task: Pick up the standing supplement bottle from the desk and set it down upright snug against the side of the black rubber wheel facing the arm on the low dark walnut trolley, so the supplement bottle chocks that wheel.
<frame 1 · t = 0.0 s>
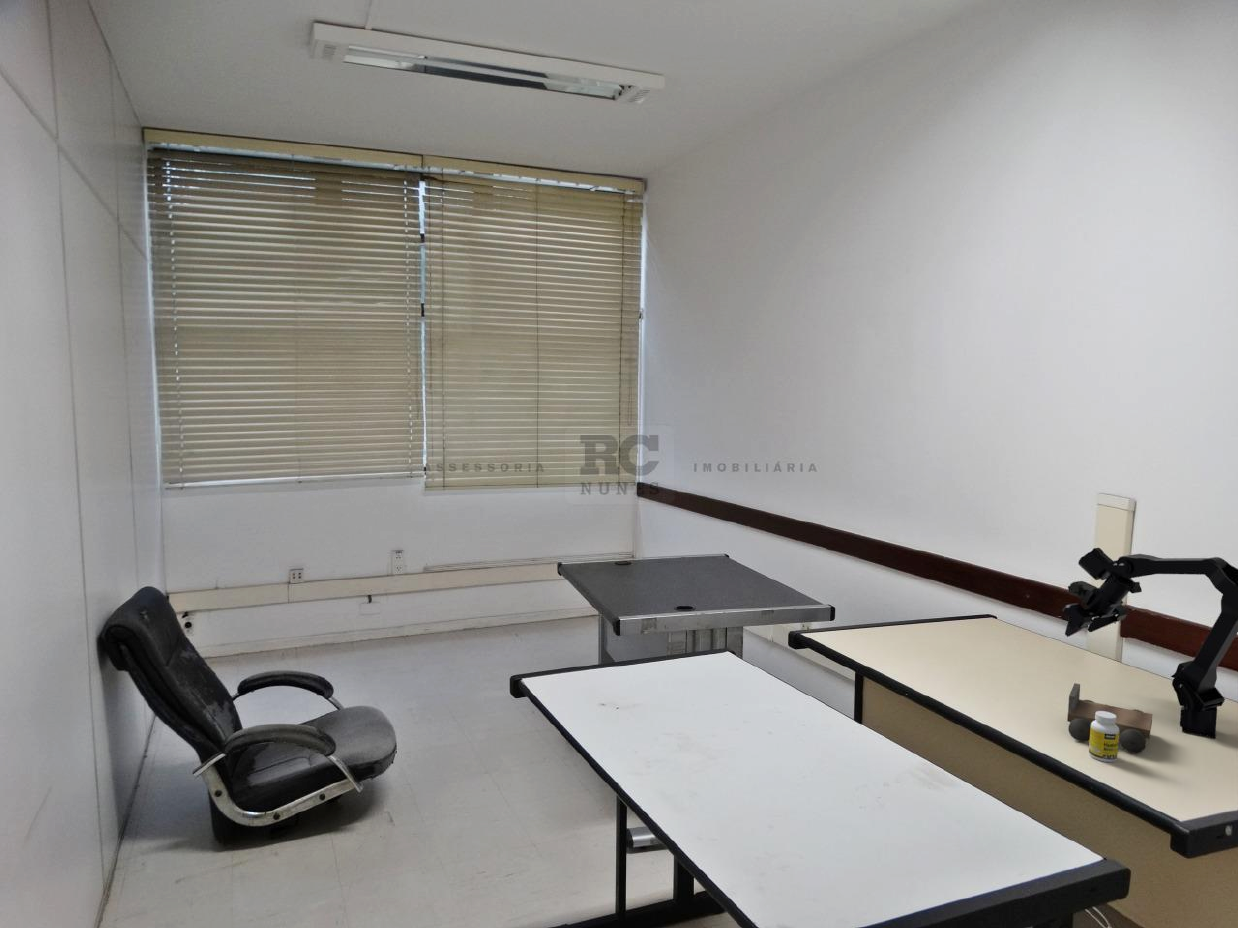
hand: (1077, 633, 217), 15 cm above the table, tool tilted 35°, fingers open, 9 cm apart
supplement bottle: (1102, 757, 177), on the table
trolley: (1109, 716, 187), point 5 cm above the table, slide at 0.0 cm
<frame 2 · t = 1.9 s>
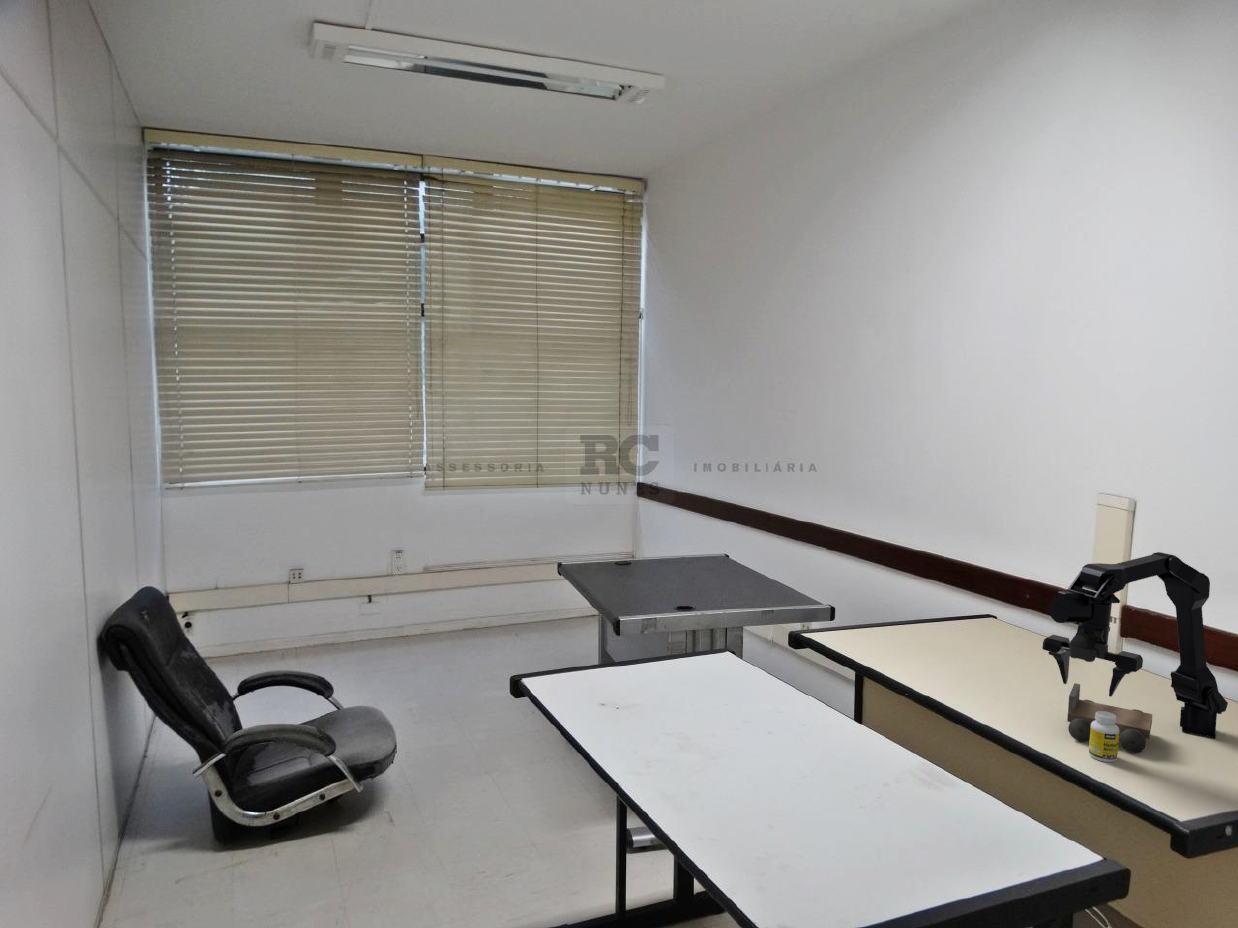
hand: (1087, 689, 180), 14 cm above the table, tool pointing down, fingers open, 9 cm apart
nothing on the table moved.
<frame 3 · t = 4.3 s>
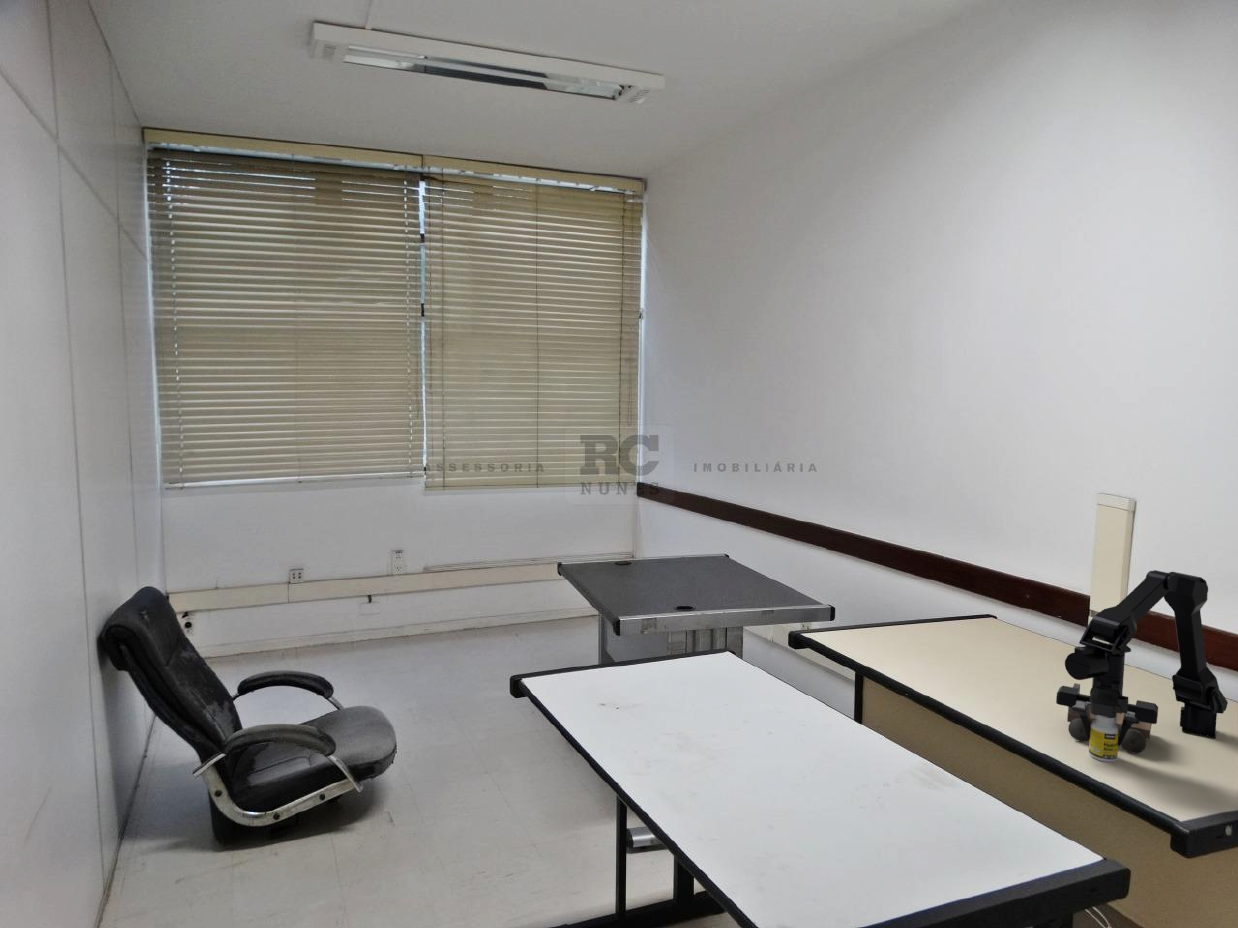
hand: (1103, 741, 176), 4 cm above the table, tool pointing down, fingers closed on supplement bottle, 5 cm apart
supplement bottle: (1102, 757, 177), on the table, touching gripper
everything else where it was.
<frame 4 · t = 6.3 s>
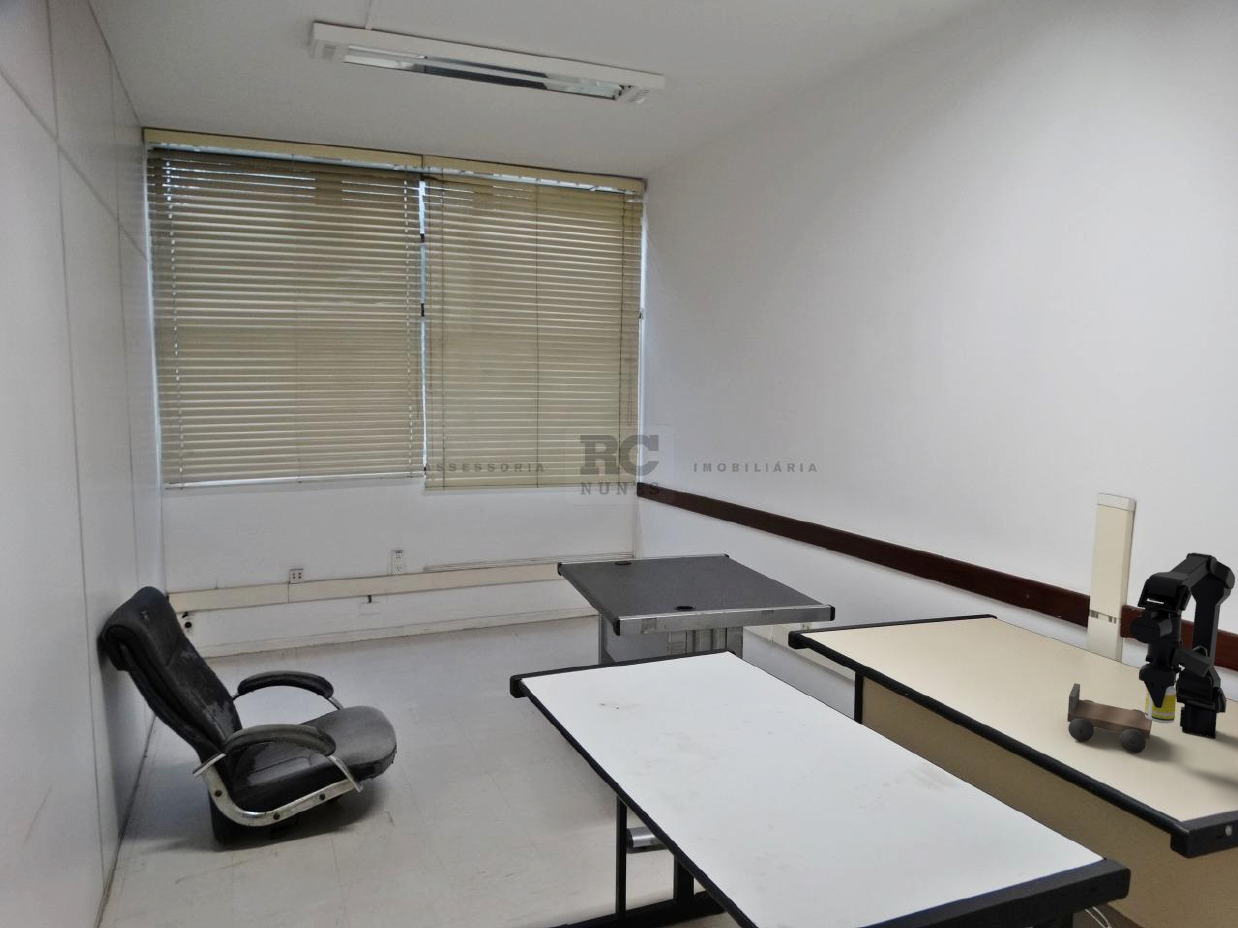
hand: (1160, 703, 175), 13 cm above the table, tool pointing down, fingers closed on supplement bottle, 5 cm apart
supplement bottle: (1159, 719, 175), point 9 cm above the table, touching gripper
everything else where it was.
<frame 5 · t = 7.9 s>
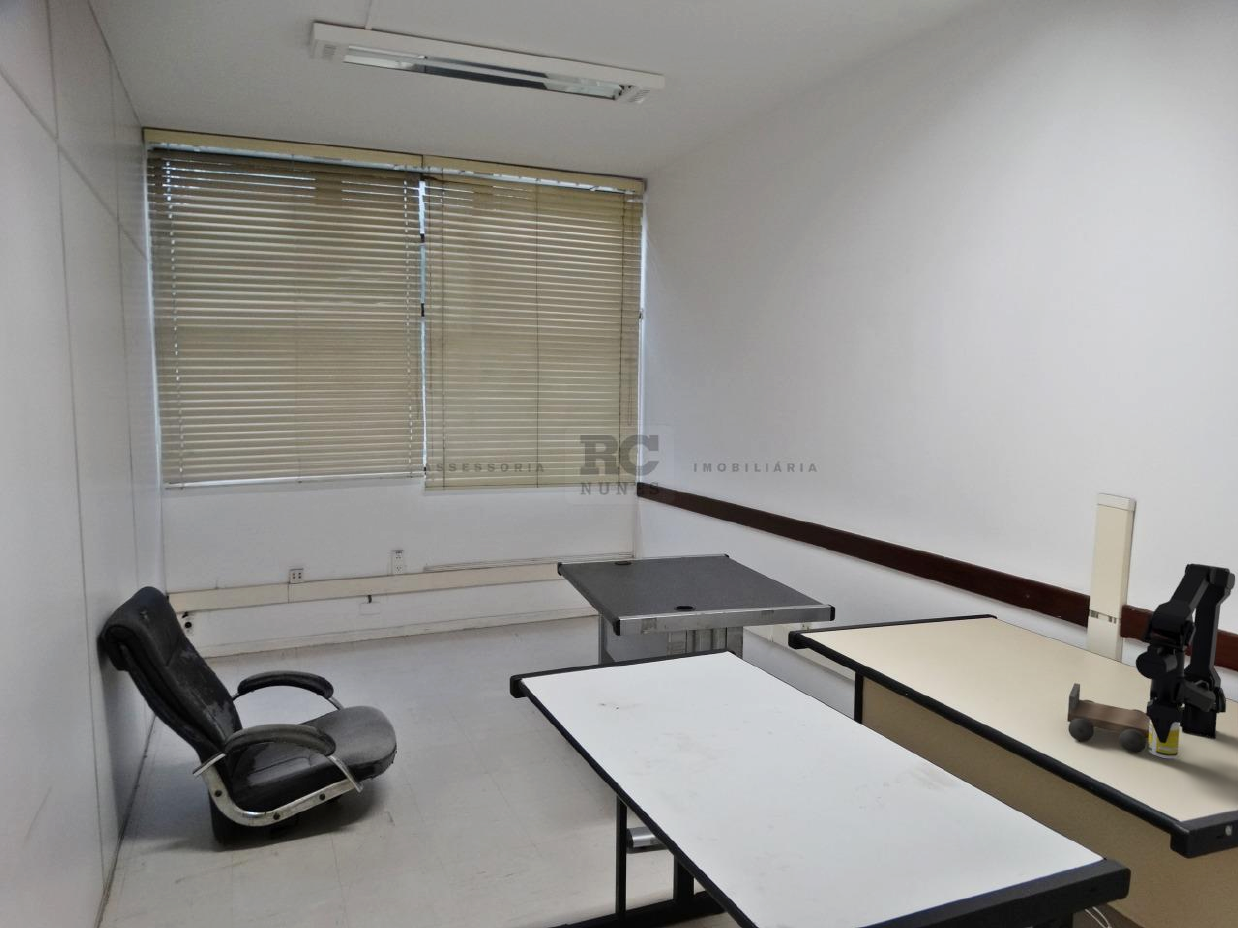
hand: (1163, 737, 175), 5 cm above the table, tool pointing down, fingers closed on supplement bottle, 5 cm apart
supplement bottle: (1162, 754, 176), point 1 cm above the table, touching gripper
everything else where it was.
when the fingers open (4 cm above the table, at t = 8.8 s): supplement bottle stays where it is, on the table.
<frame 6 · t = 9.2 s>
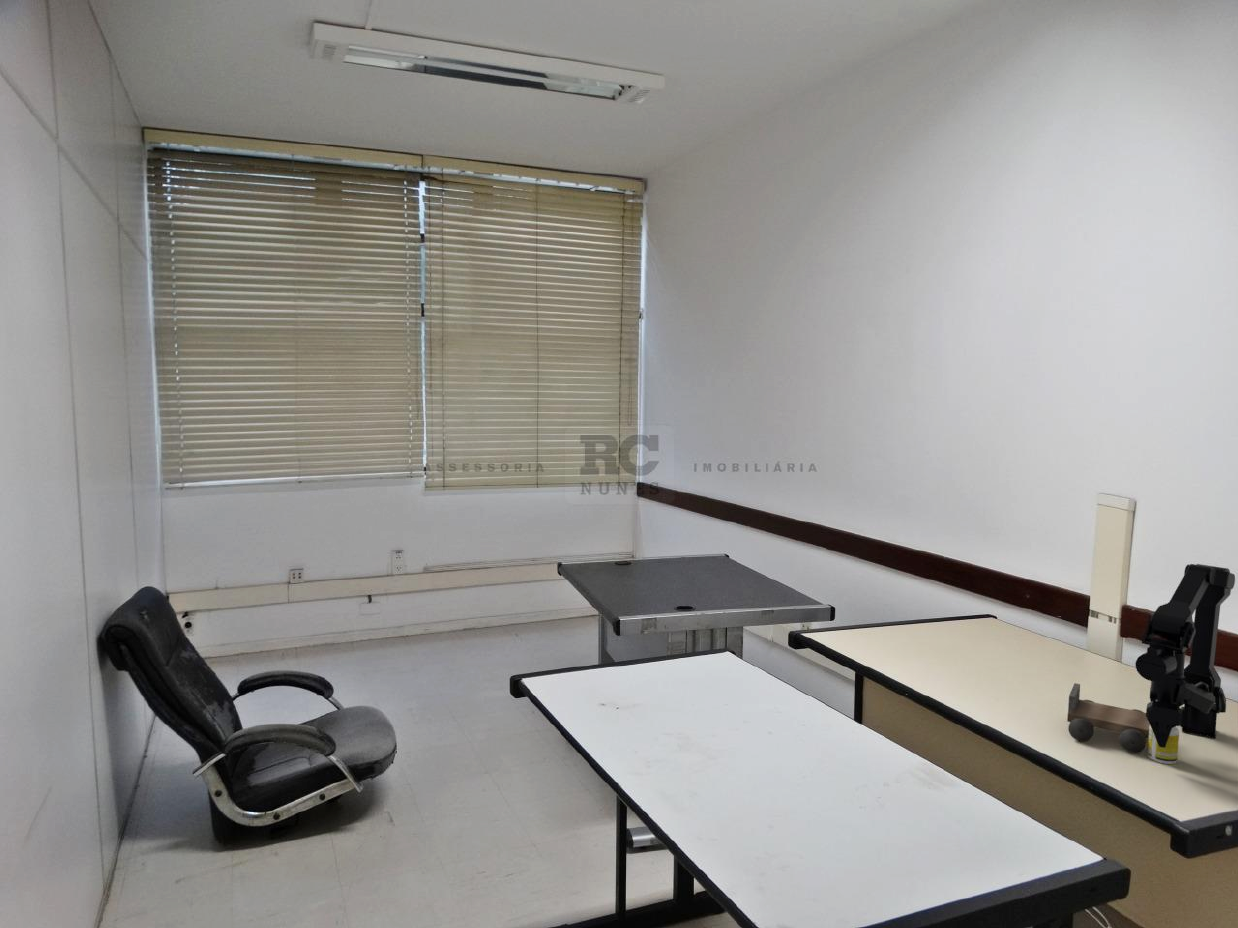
hand: (1162, 739, 175), 4 cm above the table, tool pointing down, fingers open, 9 cm apart
supplement bottle: (1161, 759, 176), on the table
everything else where it was.
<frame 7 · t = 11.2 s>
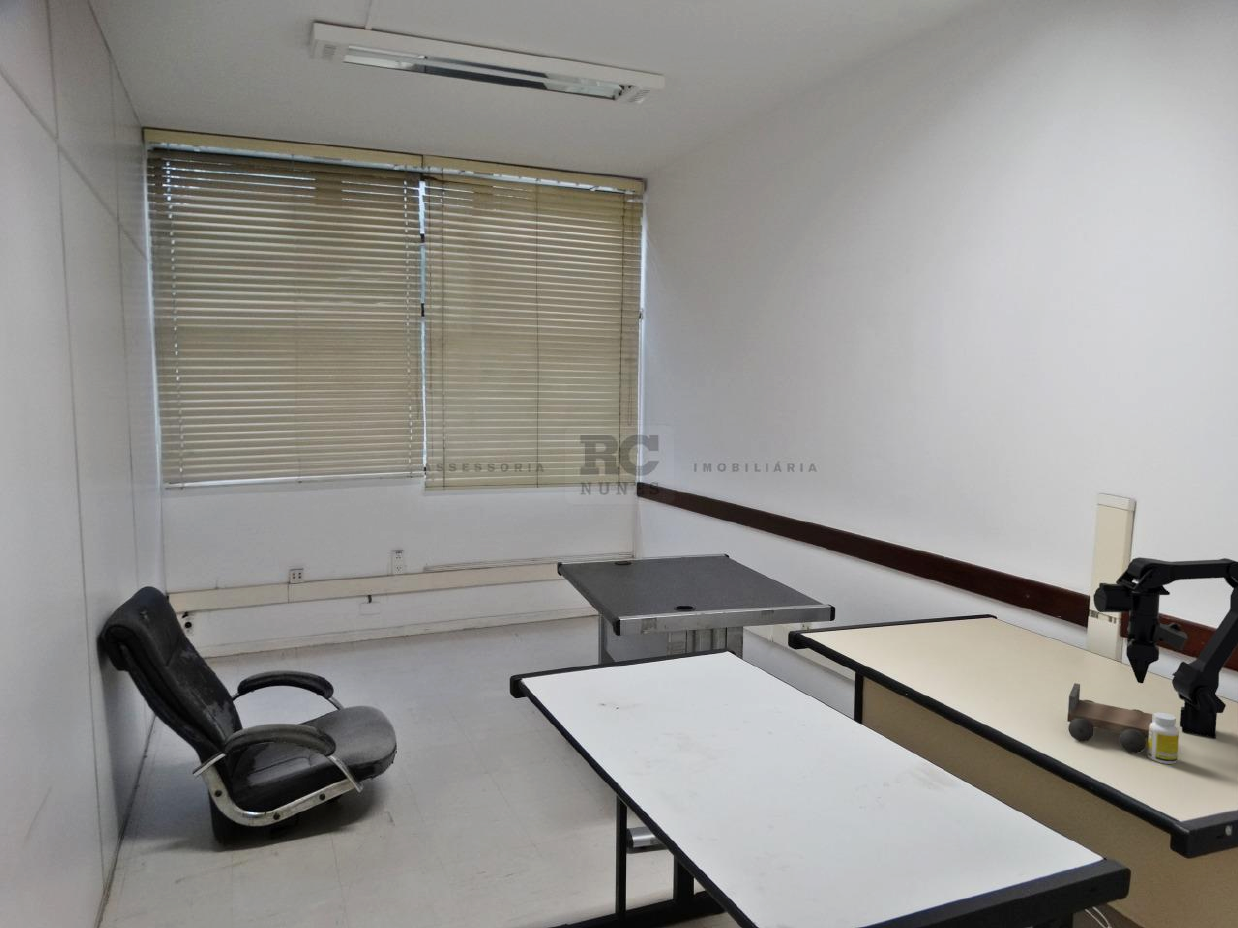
hand: (1140, 676, 190), 13 cm above the table, tool pointing down, fingers open, 9 cm apart
nothing on the table moved.
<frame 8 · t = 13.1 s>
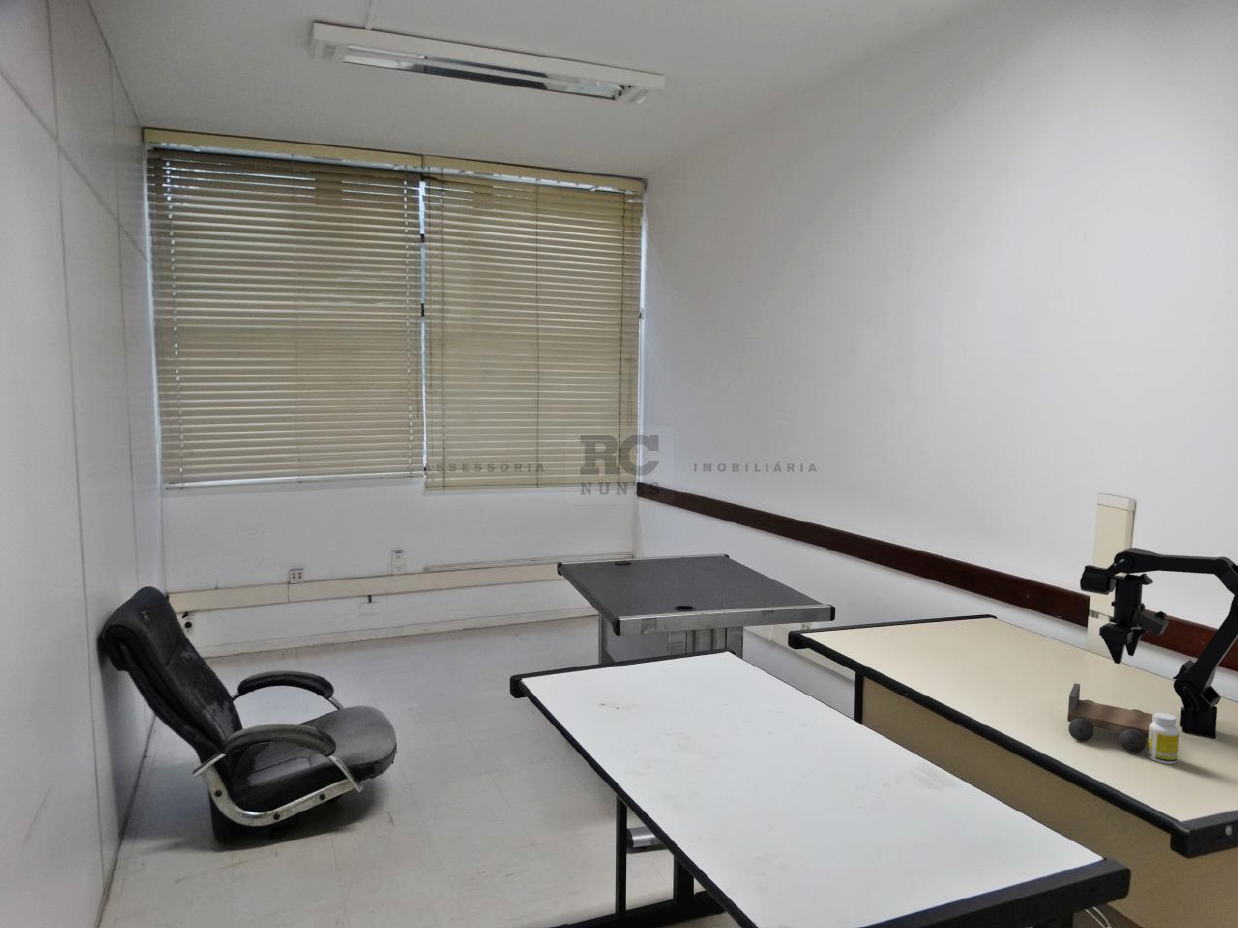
hand: (1124, 659, 202), 13 cm above the table, tool pointing down, fingers open, 9 cm apart
nothing on the table moved.
at the end: supplement bottle 0.3 cm from the target spot, on the table; supplement bottle tilted 0°; the gripper is holding nothing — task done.
